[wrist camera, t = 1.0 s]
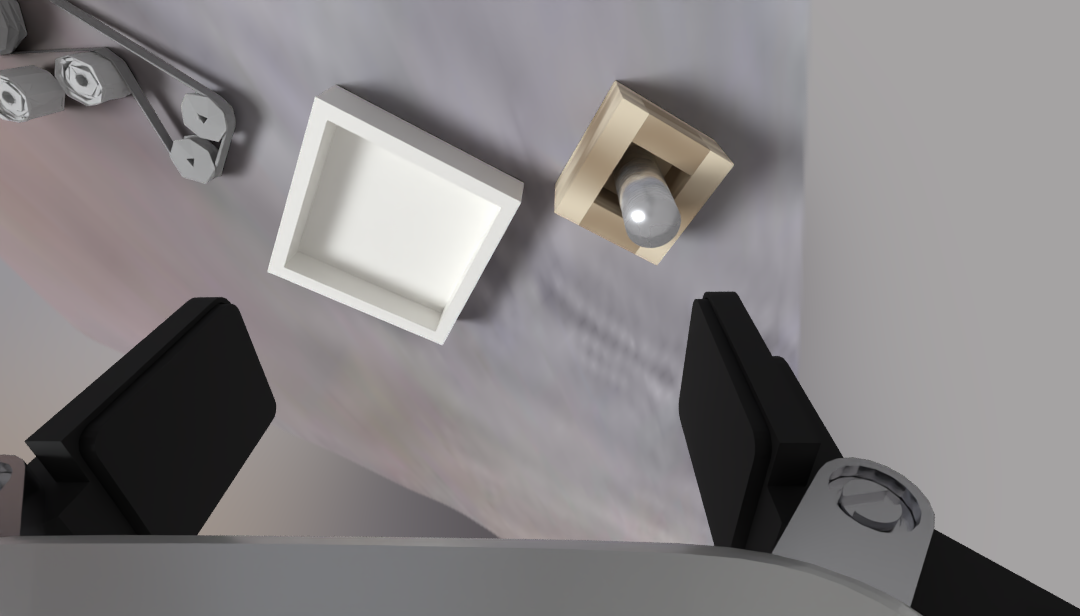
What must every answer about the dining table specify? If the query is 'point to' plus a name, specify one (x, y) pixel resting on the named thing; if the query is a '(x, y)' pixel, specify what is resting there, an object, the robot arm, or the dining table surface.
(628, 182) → the pin
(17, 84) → the pulley system
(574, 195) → the tan hollow square block
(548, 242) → the dining table surface
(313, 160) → the tray
